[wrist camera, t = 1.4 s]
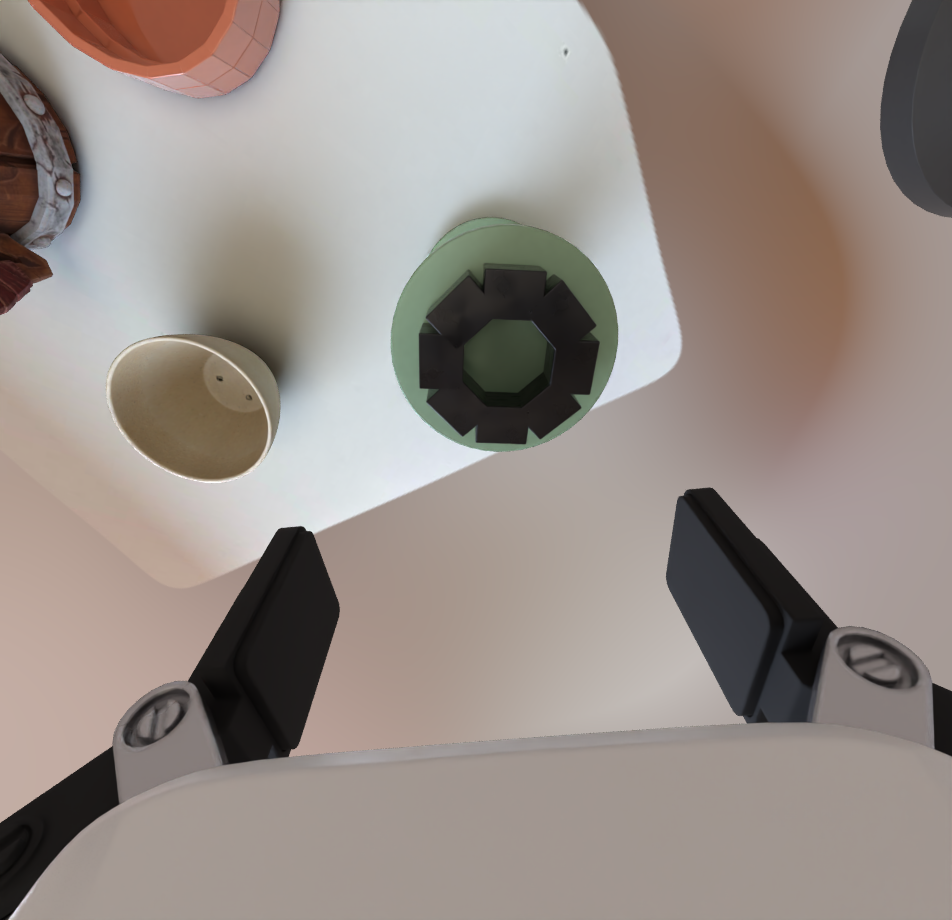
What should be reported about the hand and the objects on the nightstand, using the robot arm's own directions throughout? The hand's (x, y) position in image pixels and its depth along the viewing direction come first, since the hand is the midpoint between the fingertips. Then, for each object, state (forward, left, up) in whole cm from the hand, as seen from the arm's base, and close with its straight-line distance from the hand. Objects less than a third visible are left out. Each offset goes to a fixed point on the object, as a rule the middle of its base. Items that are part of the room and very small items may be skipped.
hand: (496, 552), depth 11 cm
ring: (-2, -1, -11) cm, 11 cm away
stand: (-2, -1, -25) cm, 25 cm away
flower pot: (+16, -10, -25) cm, 31 cm away
